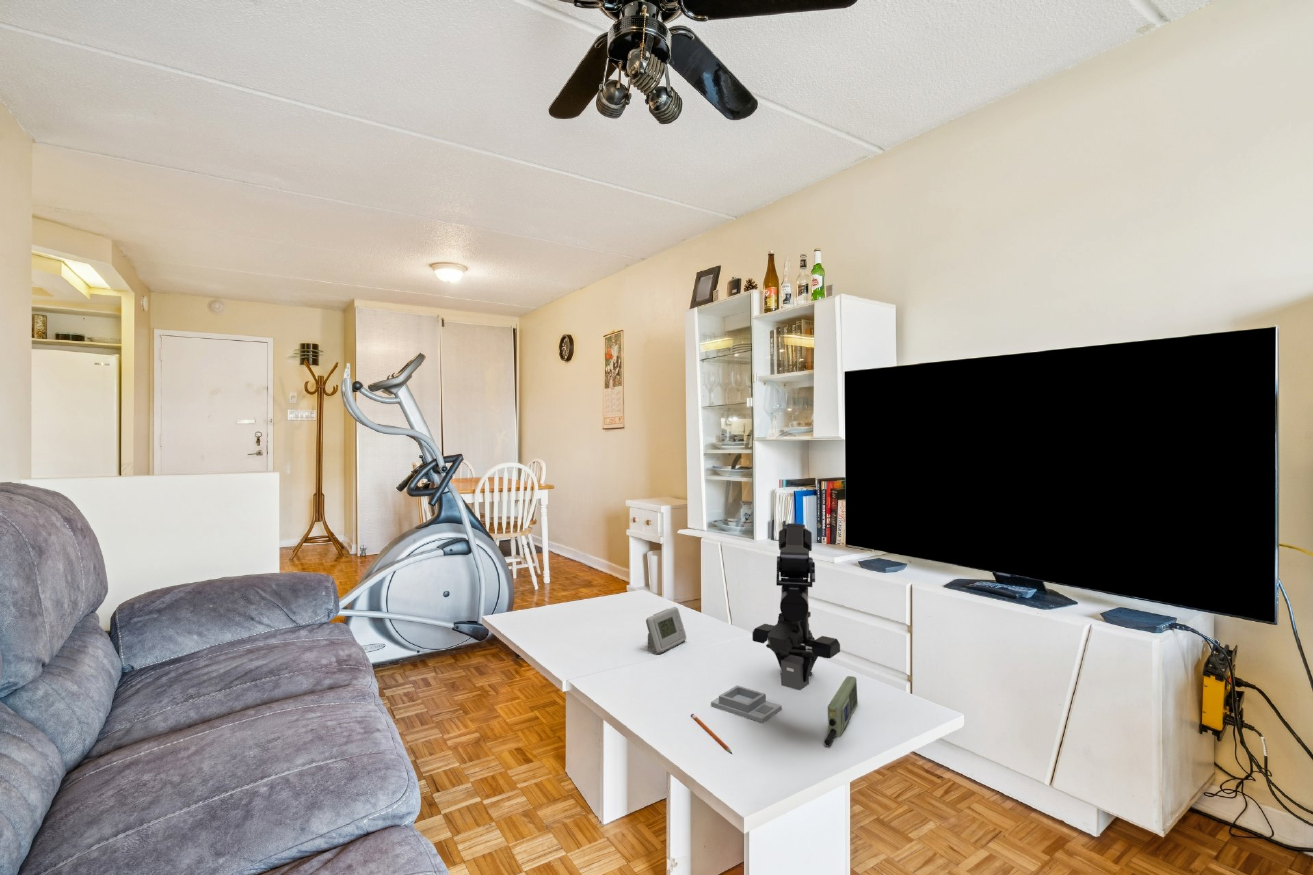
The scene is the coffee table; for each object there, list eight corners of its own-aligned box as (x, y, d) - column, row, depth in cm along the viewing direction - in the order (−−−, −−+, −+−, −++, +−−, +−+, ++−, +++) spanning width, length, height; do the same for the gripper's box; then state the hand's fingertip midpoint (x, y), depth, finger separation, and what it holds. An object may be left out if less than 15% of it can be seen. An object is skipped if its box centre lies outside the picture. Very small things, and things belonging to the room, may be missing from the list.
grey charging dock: (731, 693, 153) (731, 682, 153) (781, 709, 144) (781, 697, 144) (711, 705, 146) (711, 694, 146) (762, 723, 137) (762, 710, 137)
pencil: (694, 716, 141) (694, 713, 141) (734, 755, 123) (734, 751, 123) (690, 717, 140) (690, 713, 140) (730, 756, 123) (730, 752, 123)
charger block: (790, 679, 137) (790, 654, 137) (809, 684, 134) (809, 659, 135) (781, 685, 134) (780, 660, 134) (799, 690, 131) (799, 665, 131)
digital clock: (657, 656, 180) (656, 620, 180) (636, 649, 186) (636, 614, 186) (694, 643, 191) (694, 609, 191) (674, 637, 197) (673, 604, 197)
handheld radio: (859, 704, 147) (835, 751, 125) (845, 702, 148) (819, 747, 126) (858, 676, 147) (834, 718, 125) (844, 674, 148) (818, 715, 127)
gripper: (739, 608, 134) (739, 679, 134) (818, 624, 122) (819, 702, 122) (764, 598, 143) (764, 665, 143) (840, 612, 131) (841, 685, 131)
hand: (795, 678), depth 134 cm, fingers closed on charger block, 4 cm apart
